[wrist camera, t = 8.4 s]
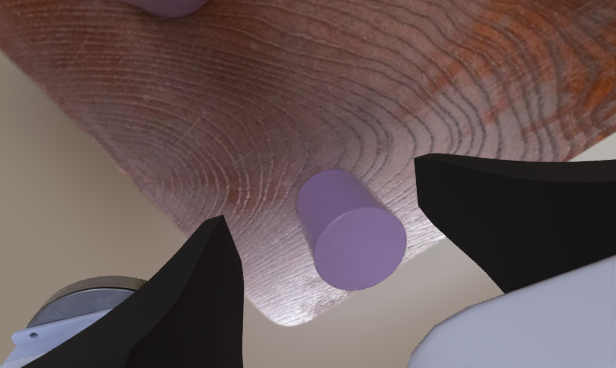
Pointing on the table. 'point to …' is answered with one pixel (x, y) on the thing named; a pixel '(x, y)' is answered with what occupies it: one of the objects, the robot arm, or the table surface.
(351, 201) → the purple round peg
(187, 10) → the lavender cylinder post
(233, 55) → the table surface
